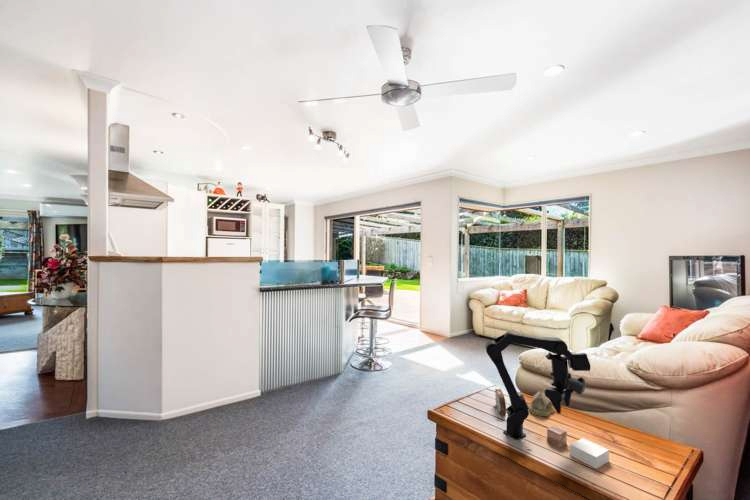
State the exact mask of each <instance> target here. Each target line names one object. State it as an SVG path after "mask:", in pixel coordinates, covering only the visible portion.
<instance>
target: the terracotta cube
mask: <svg viewBox="0 0 750 500" xmlns="http://www.w3.org/2000/svg"><path fill="white" fill-rule="evenodd" d="M546 429H547V430H546V441H547V442H549V443H550V444H553V445H555V446H556V447H558V448H561V447H562V446H565V445H567V442H568V441H567V440H568V437H567V435H568V433H567V431H568V430H565V429H563V428H561V427H558V426H557V425H551V426H549V427H547V428H546Z"/></svg>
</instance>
